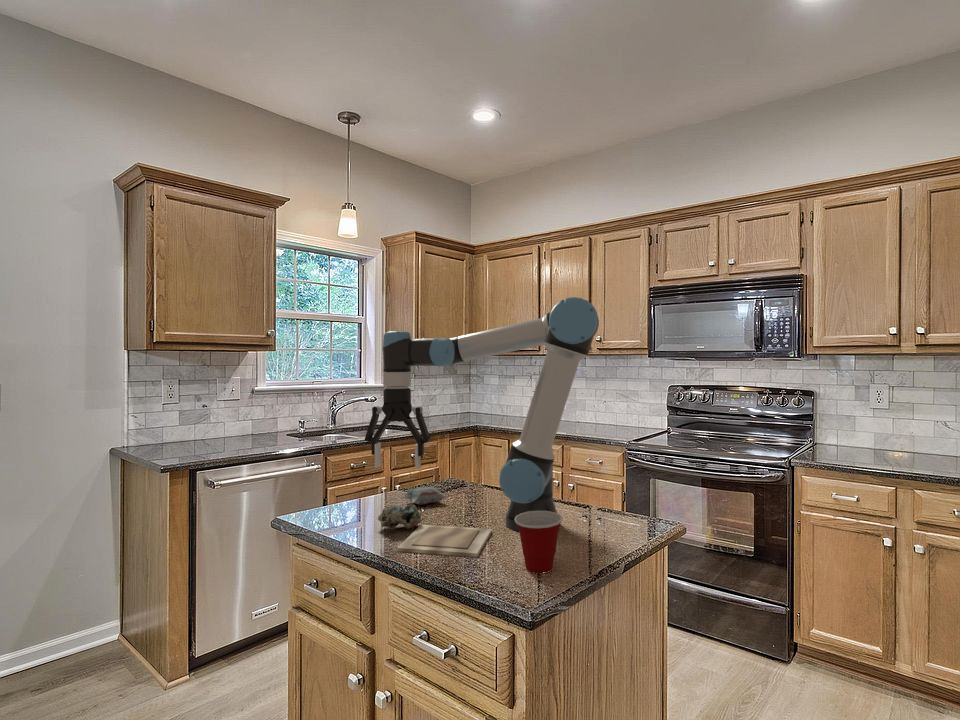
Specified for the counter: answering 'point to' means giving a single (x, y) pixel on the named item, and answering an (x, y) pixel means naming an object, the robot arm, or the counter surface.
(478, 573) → the counter surface
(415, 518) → the mineral specimen
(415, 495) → the packaged food
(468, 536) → the base plate
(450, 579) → the counter surface
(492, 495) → the counter surface
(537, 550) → the plastic cup
